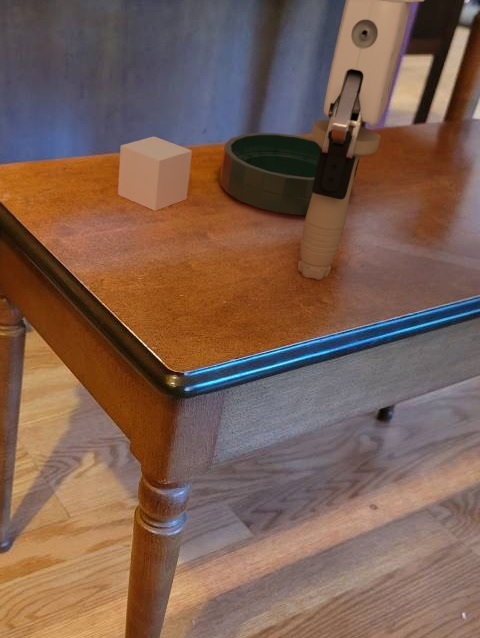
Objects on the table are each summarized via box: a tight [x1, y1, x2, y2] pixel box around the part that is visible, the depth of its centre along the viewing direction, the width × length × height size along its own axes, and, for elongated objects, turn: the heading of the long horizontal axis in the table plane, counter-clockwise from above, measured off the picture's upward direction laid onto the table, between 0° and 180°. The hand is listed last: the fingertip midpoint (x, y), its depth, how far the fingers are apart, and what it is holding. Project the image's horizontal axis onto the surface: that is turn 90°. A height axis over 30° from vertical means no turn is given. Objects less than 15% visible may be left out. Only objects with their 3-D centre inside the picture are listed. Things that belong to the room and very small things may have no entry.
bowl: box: [219, 132, 355, 216], centre depth 95 cm, size 17×17×5 cm
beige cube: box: [117, 136, 193, 212], centre depth 89 cm, size 6×6×6 cm
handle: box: [297, 118, 382, 281], centre depth 74 cm, size 5×6×15 cm
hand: (334, 183), depth 72 cm, fingers closed on handle, 5 cm apart
